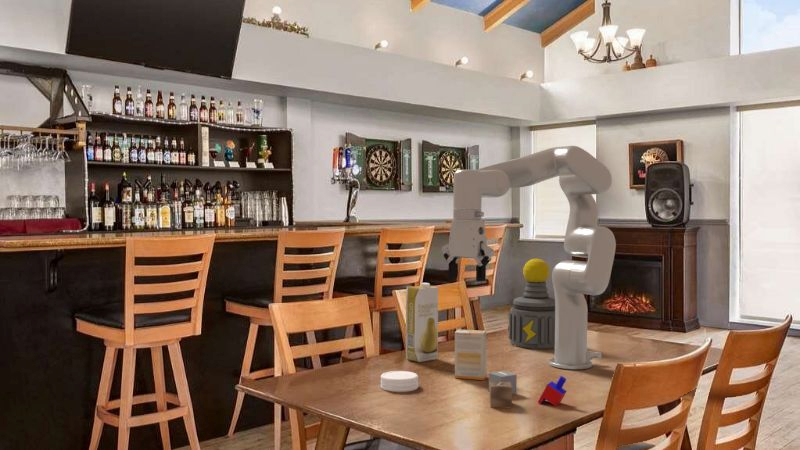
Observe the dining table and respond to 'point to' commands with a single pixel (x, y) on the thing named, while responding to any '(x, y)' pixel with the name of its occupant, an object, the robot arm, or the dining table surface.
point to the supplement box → (470, 354)
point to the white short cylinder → (399, 381)
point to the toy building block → (553, 392)
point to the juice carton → (422, 323)
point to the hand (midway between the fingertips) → (466, 279)
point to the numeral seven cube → (500, 394)
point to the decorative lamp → (533, 310)
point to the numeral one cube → (504, 379)
